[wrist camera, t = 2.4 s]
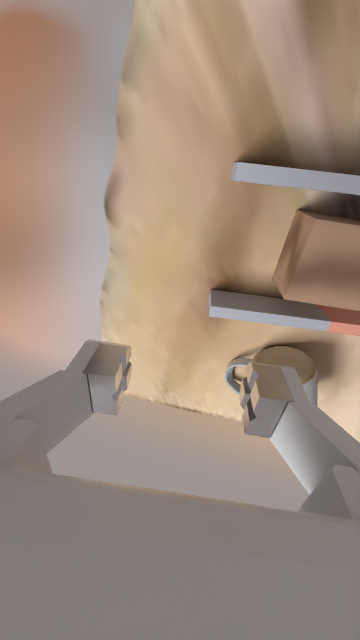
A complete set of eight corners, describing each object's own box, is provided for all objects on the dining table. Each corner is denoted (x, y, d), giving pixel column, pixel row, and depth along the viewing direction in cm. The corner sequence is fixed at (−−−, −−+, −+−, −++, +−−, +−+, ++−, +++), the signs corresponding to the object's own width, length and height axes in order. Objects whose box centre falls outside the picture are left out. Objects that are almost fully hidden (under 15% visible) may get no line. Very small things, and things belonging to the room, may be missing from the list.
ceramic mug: (306, 337, 30) (331, 384, 24) (305, 384, 34) (326, 435, 28) (220, 348, 33) (222, 393, 26) (228, 390, 37) (232, 439, 30)
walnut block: (296, 209, 23) (316, 219, 19) (370, 220, 23) (406, 233, 19) (271, 278, 27) (283, 299, 23) (335, 288, 27) (359, 311, 23)
